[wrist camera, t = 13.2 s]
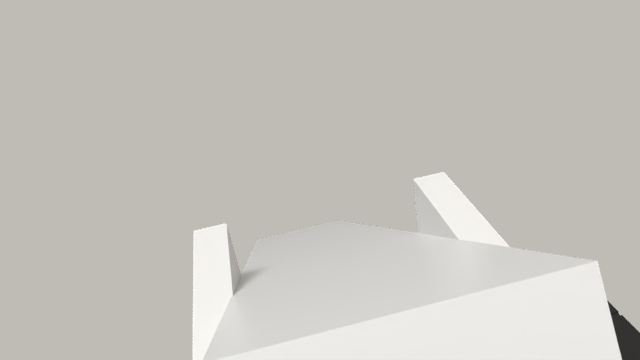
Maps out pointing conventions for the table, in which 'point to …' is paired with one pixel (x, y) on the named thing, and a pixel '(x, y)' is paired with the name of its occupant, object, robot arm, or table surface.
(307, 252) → the white block
